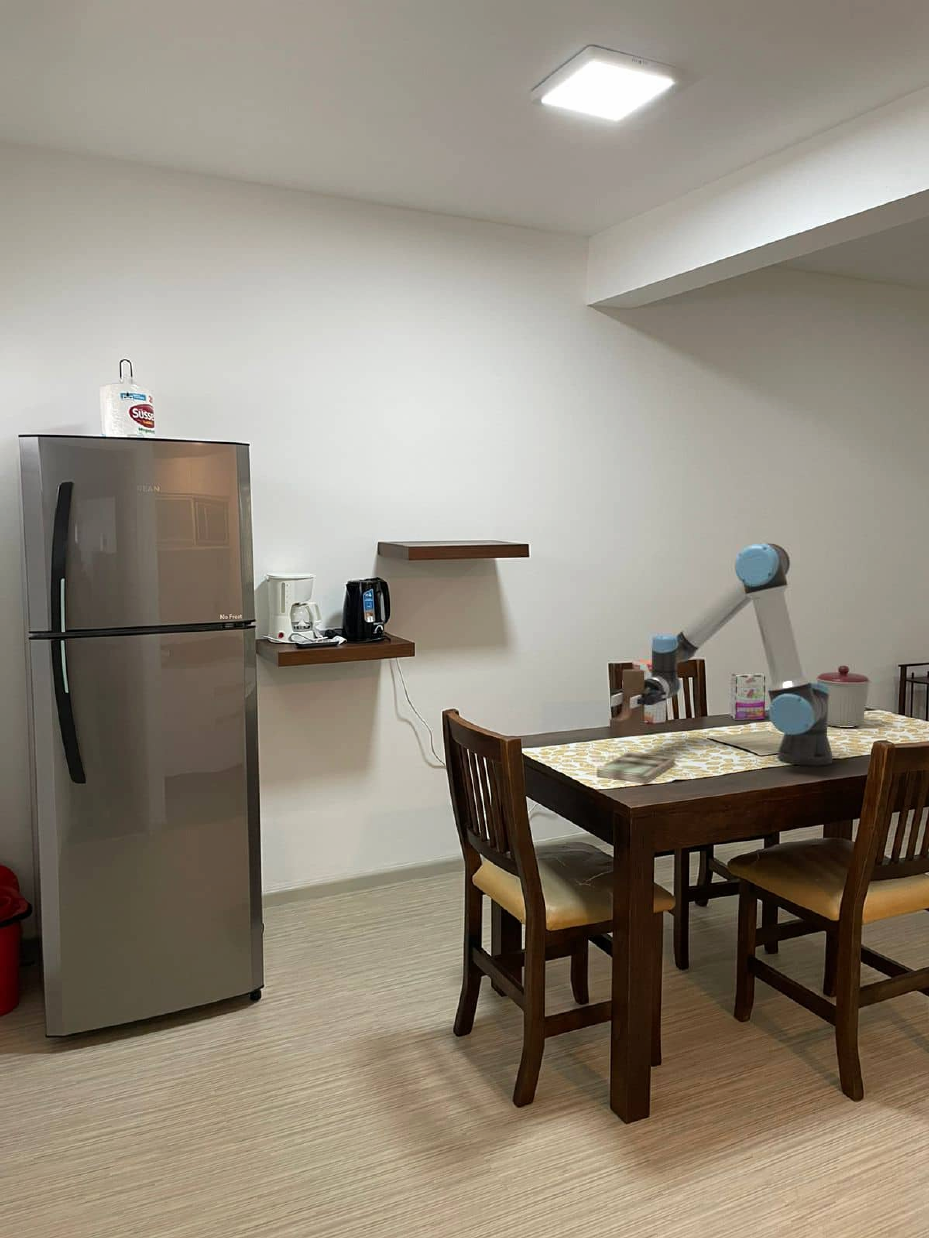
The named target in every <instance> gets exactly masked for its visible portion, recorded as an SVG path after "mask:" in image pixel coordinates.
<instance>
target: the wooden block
mask: <svg viewBox="0 0 929 1238" xmlns="http://www.w3.org/2000/svg"><path fill="white" fill-rule="evenodd" d="M622 688H623V702H622V704H621V705H622V707H621V711H620V713H619V714H618V715H617V716H615V717H612V718H610V719H609V735H610V736H615V737H629V736H642V735H644V734H645V721H644V705H643V704H642V705H640V706H637V707H635V708H630V698H632V697H635V696H638V695H642V693H644V670H637V669H633V668H632V669H623V670H622ZM641 698H642V697H641Z"/></svg>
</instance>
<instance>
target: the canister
mask: <svg viewBox="0 0 929 1238" xmlns="http://www.w3.org/2000/svg"><path fill="white" fill-rule="evenodd" d="M837 671H838V672H837ZM837 671H836V672H835V671H834V672H833V671H832V672H825V673H824V672H823V673H820V674H819V675H818V676H815V680H816V681H817V683H818V684H825V685H827V686H828V689H829V699H828V723H827V726H828V725H831V726H830V727H832V726H858V727H860V726H861V725H862V724H863V722H864V717H865V713H866V706H867V700H868V694H869V689H870V684H871V683H872V679H869V677H867V676H866V675H863V674H859V673H854V672H853V673H852V672H849V671H850V668H849V667H848V666H847V665H840V666H838V668H837Z"/></svg>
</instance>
